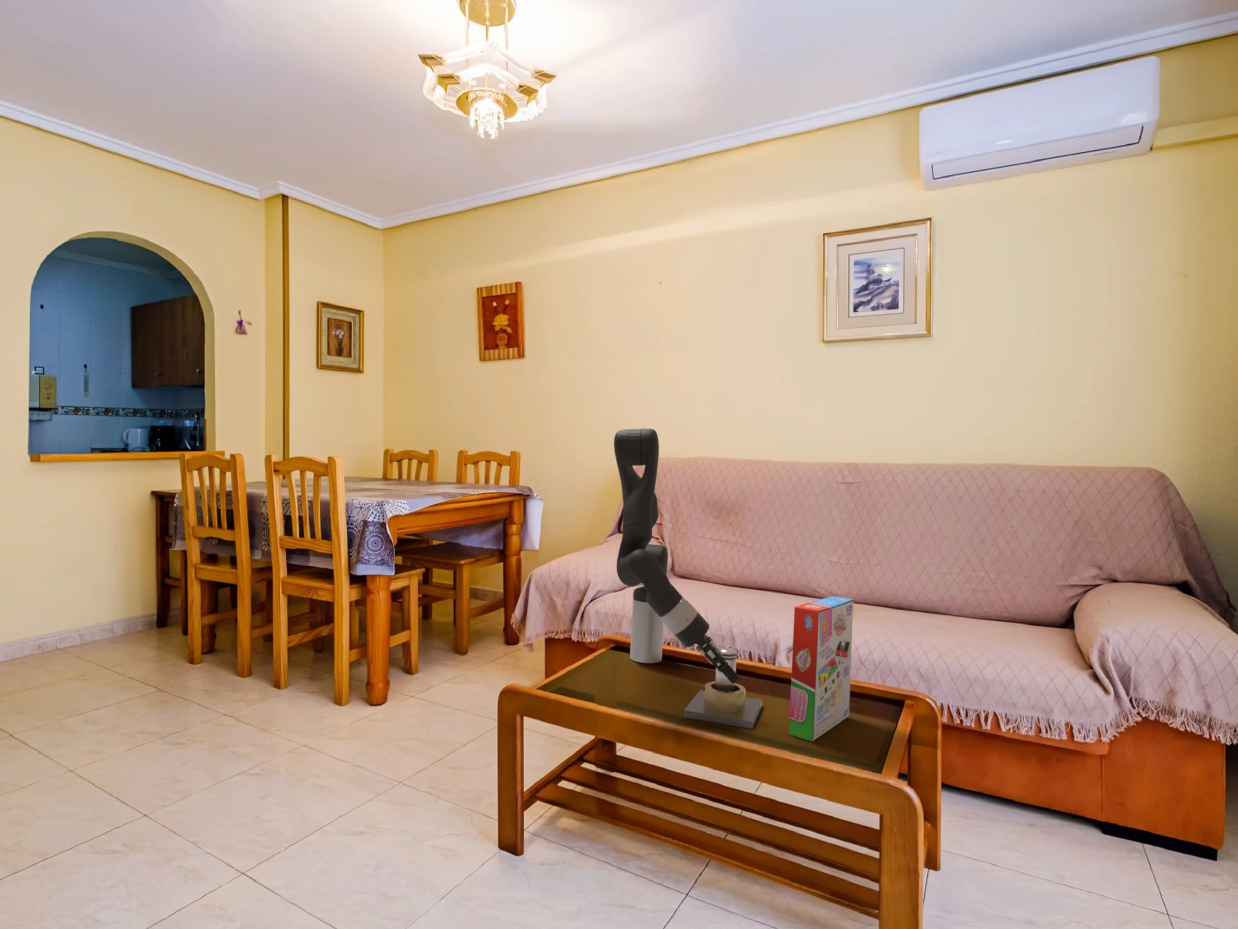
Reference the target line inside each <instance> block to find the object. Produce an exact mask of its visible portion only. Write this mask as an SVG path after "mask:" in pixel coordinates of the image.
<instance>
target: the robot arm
mask: <svg viewBox="0 0 1238 929" xmlns="http://www.w3.org/2000/svg"><path fill="white" fill-rule="evenodd" d="M659 441H660V440H659V436H658V433H657V431H656V430H655V429H654V428H630V429H629V428H628V429H620V430H618V431H616V433H615V435H614V437H613V448H614V449H613V450H614V456H615V461H616V465H617V469H618V474H619V478H620V485H621V486H620V487H621V493H622V504H623V511H622V530H621V531H622V532H621V533H622V538H621V542H620V545H619V549H618V554H617V558H616V574H617V577H618V579H619V581H620V582H621V583H622V584H623V585H625V586H627V587H636V586H638V585H640V584H642V585H643V586H640V587H637V588H634V590H633V593H632V612H631V614H632V616H631V631H630V647H629V649H630V651H629V659H630V660H631V661H634V662H637V663H640V664H641V663H642V664H655V663H660V662H661V661H662V658H663V640H664V639H663V638H664V625H665V626H666V628H668V630H669V631H670V632H671V633H672V634H673V635H674V637H676V638H677V639H678V641H679V642H680V643H681V644H682V646H683V647H684V648H691V647H692V646H694V645H697V646H696V649H697V650H698V652H699V654H701V655H702V656H703V657H704V658H705V659H706V660H707V661H708V662H709V663H710V664H711V665H713V666H714V667H715V669H716V668H717V669H718V671H720V672H722V673H723V674H724V675H725V676H726V677H727V678H728V680H729V681H730V682H731V683H736V682H737V681H738V680H739V679H740V676H739V675H738V674H737V671H736V672H735V671H734V670H733V669H732V668H731V667H730V666H729V663H728V662H726V661H725V659H724V658H723V654H722V653H721V651H720V650H719V649H718V648H719V646H718V645H717V644H716V643H715V642H714V640H713V638H711V636H710V635H707V633H708V631H709V629H710V624H709V623H708V622H707V620H706V619H705V618H704V617H703V615H701V614H700V612H699V611H698V610H697V609H696V608H695V607H694V606H693V605H692V603H691V602H690V601H688V600H687V599H686V598H685V597H684V596H683V595H682V594H681V593H680V592H679V591H678V590H677V589H676V588H675V587H674V585H673V584H672V583H671V582H670V580H669V578H668V575H667V572H668V563H669V562H668V561H669V553H668V552H669V551H668V548H667V546H665V545H661V544H653V543H652V544H650V542H651V541H652V537H653V528H654V526H655V525H656V523H657V522H658V519H659V506H658V505H659V504H658V497H657V494H656V493H655V490H656V484H657V476H658V475H657V474H658V468H659V467H658V466H659V458H660V457H659V456H660V443H659ZM637 466H638V467H639V466H644V470H643V473H642V476H640V475H638V473H637V472H636V470H635V468H634V467H637ZM718 653H719V654H718ZM720 661H723V663H722V664H721V665H720V666H718V664H717V663H718V662H720Z"/></svg>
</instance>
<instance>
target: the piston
mask: <svg viewBox="0 0 1238 929" xmlns="http://www.w3.org/2000/svg"><path fill="white" fill-rule="evenodd" d="M718 649H719V650H720V651H721V653H722V654H723V658H724V659H725V661H726V662H728V663H729V666H730V667H731V668H732V669H733V670H734V671H735V672H736V673H737V659H738V650H737V649H736V648H731V647H722V646H721V647H718ZM718 654H719V653H718ZM722 663H723V661H720V662H718V663H717V664H718V666H720V665H721V664H722ZM735 683H736V682H735ZM735 683H731V682H730V681H729V680H728V678H727V677H726V676H725V675H724V674H723V673H722V672H720V671H718V669H717V668H716V667H715V690H718V691H724V692H735Z"/></svg>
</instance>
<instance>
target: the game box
mask: <svg viewBox="0 0 1238 929" xmlns="http://www.w3.org/2000/svg"><path fill="white" fill-rule="evenodd" d="M793 611H794V612H793V613H794V614H793V631H792V632H793V636H792V655H791V656H792V657H791V677H790V680H791V682H790V699H789V701H790V702H789V720H788V721H789V722H788V723H789V724H788V735H789V736H792V737H796V738H799V739H802V740H805V741H808V742H814V741H815V740H817V739H818V738H820V737H821V736H823V735H825V733H827V732H828V731H830V730H831V729H833V728H834V727H837V725H839V724H840V723H841V722H843V721H844V720H846V719H848V718H849V717H850V700H851V699H850V697H851V673H852V672H851V668H852V645H853V644H852V643H853V642H852V641H853V640H852V639H853V620H854V619H853V618H854V599H853V598H849V597H848V598H847V597H843V596H842V597H841V596H836V595H835V596H833V595H831V596H828V597H823V598H821V599H817V600H813V601H810V602H806V603H803V604H800V605H796V606H794V610H793Z"/></svg>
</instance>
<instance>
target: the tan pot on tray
mask: <svg viewBox="0 0 1238 929" xmlns="http://www.w3.org/2000/svg"><path fill="white" fill-rule="evenodd" d="M746 691H747V690H746V687H744V686H743V685H741V684H739V683H736V682H735V692H724V691H718V690H715V681H713V680H712V681H710V682H707V683H706V684H705V685H704V690H703V689H700V690H699V691H698V692H697V693H696V694H695V696H694V697H693V698H692V700H691V701H690V702H689V703H688V705H687V706H686V707H685V708H684V710H683V718H687V719H693V720H699V721H705V722H710V723H716V724H722V725H726V726H732V727H733V726H734V727H739V728H745V729H751V730H753V728H754V725H755V723H756V721H757V718H758V717H759V715H760V712H761V710H762V707H763V699H761V698H760V699H759V698H752V697H747V696H746Z"/></svg>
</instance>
